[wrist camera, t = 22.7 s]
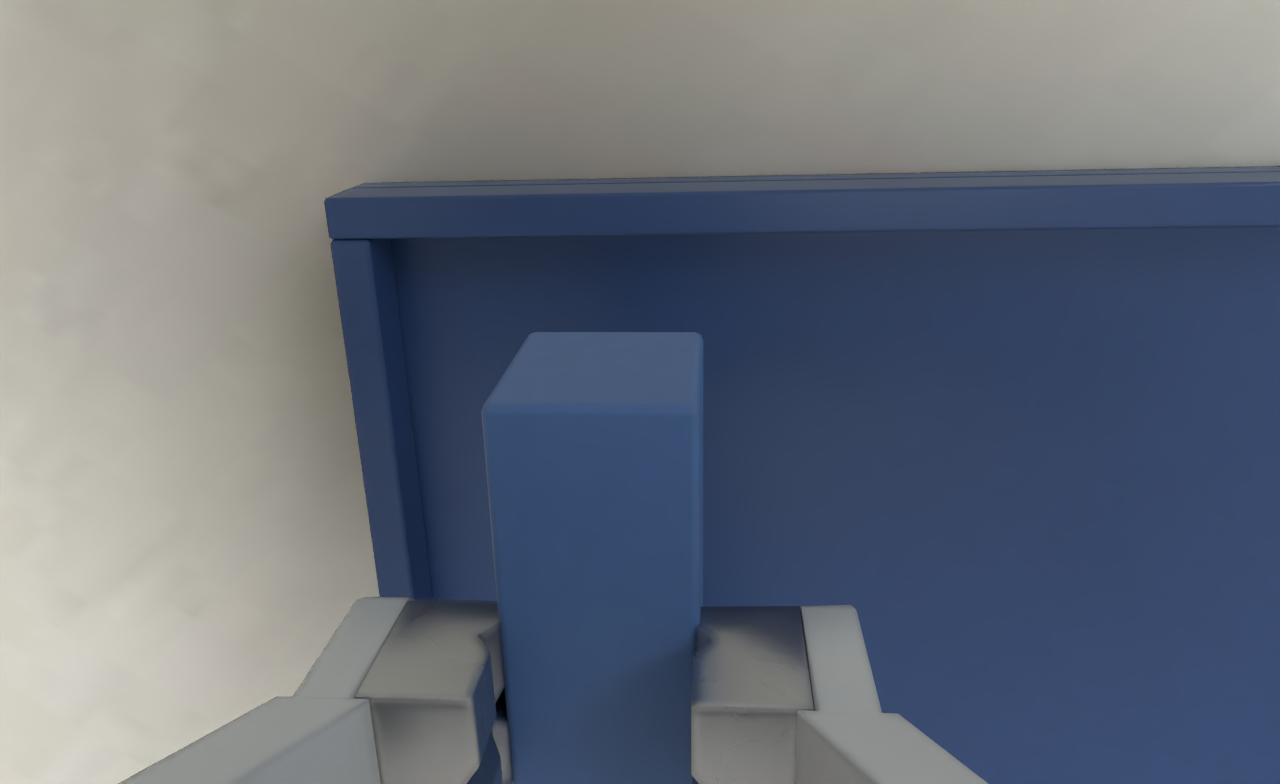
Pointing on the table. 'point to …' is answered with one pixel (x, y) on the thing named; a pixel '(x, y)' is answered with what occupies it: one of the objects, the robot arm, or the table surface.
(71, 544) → the table surface
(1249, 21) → the table surface
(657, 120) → the table surface
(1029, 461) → the blue tray
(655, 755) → the blue stepped bar
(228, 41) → the table surface
